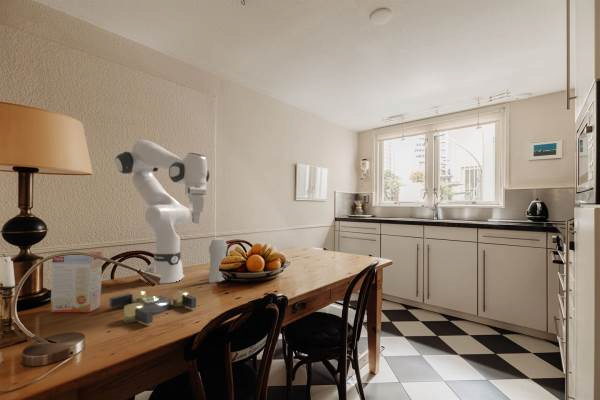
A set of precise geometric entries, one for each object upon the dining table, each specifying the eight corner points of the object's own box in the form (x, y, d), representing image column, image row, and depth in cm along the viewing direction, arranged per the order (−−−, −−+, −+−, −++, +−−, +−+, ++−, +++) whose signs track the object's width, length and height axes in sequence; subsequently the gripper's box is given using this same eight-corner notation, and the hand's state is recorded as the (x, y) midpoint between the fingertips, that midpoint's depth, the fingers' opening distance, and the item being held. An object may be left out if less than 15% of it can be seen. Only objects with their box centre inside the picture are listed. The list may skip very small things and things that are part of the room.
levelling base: (123, 310, 100) (124, 297, 100) (158, 300, 111) (159, 288, 111) (142, 318, 93) (142, 304, 93) (177, 307, 104) (178, 294, 104)
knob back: (141, 299, 111) (141, 288, 111) (148, 302, 108) (148, 291, 108) (107, 308, 101) (107, 296, 101) (114, 311, 98) (114, 299, 98)
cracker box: (101, 307, 103) (103, 251, 104) (89, 313, 97) (91, 253, 98) (64, 306, 103) (66, 250, 104) (49, 312, 97) (51, 253, 98)
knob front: (120, 320, 91) (120, 306, 91) (137, 314, 96) (137, 301, 96) (140, 328, 85) (141, 314, 85) (158, 322, 89) (158, 308, 90)
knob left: (170, 304, 106) (170, 293, 106) (183, 300, 110) (184, 289, 110) (186, 312, 98) (186, 299, 98) (200, 307, 103) (200, 296, 103)
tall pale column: (224, 278, 147) (225, 236, 147) (228, 279, 144) (229, 237, 145) (206, 282, 138) (207, 238, 139) (210, 283, 136) (211, 239, 136)
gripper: (186, 191, 126) (185, 221, 126) (190, 189, 108) (189, 224, 107) (200, 192, 129) (200, 221, 128) (207, 189, 110) (206, 224, 110)
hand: (195, 222), depth 118 cm, fingers open, 8 cm apart
